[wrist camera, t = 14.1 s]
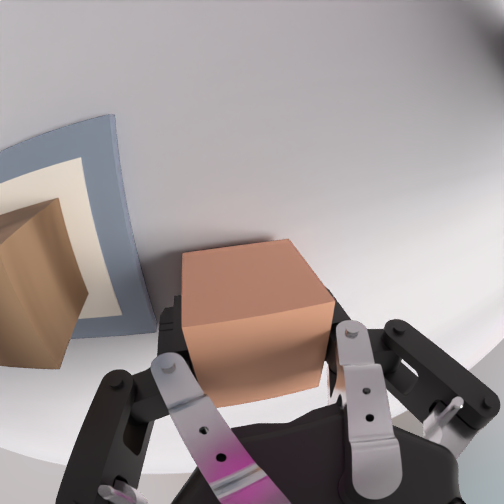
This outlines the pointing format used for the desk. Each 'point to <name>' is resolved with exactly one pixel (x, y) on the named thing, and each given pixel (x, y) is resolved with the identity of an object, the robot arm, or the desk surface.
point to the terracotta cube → (254, 321)
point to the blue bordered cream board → (86, 219)
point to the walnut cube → (37, 287)
